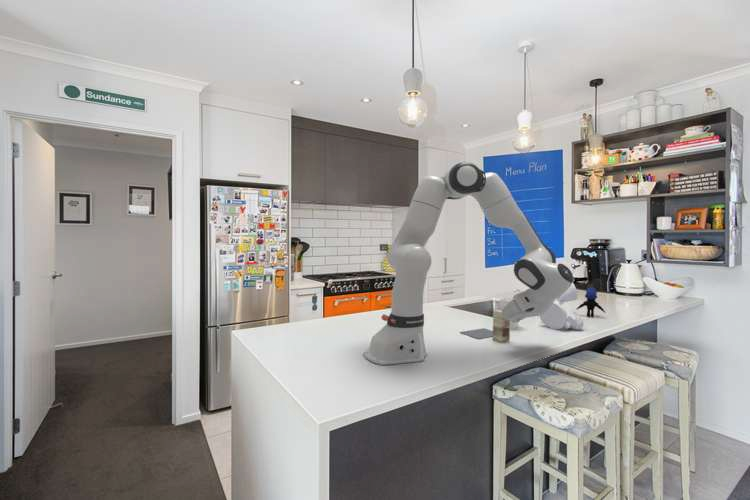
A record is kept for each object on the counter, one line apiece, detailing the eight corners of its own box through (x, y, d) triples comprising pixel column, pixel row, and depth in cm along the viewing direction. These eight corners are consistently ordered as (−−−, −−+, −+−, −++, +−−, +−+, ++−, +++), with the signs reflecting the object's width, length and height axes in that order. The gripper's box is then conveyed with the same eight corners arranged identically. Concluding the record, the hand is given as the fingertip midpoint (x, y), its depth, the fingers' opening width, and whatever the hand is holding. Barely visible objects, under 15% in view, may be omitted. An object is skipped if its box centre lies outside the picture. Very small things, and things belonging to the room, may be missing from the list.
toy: (605, 317, 192) (606, 288, 191) (605, 319, 187) (606, 289, 186) (576, 314, 199) (577, 285, 198) (575, 316, 194) (576, 287, 193)
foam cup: (522, 331, 164) (523, 301, 163) (500, 329, 166) (500, 300, 165) (518, 325, 173) (519, 297, 173) (497, 324, 175) (498, 296, 175)
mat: (477, 339, 151) (477, 338, 151) (459, 332, 160) (459, 332, 160) (503, 335, 157) (503, 334, 157) (483, 328, 167) (483, 328, 167)
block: (501, 343, 146) (502, 312, 145) (492, 340, 150) (493, 310, 150) (509, 341, 148) (510, 311, 148) (500, 338, 152) (501, 309, 152)
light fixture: (607, 304, 162) (572, 275, 172) (589, 316, 153) (553, 285, 163) (575, 338, 178) (545, 310, 188) (556, 350, 170) (526, 321, 180)
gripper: (550, 290, 141) (528, 311, 150) (511, 294, 131) (490, 316, 140) (561, 304, 137) (537, 325, 146) (521, 309, 128) (499, 331, 137)
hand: (514, 321), depth 143 cm, fingers closed
